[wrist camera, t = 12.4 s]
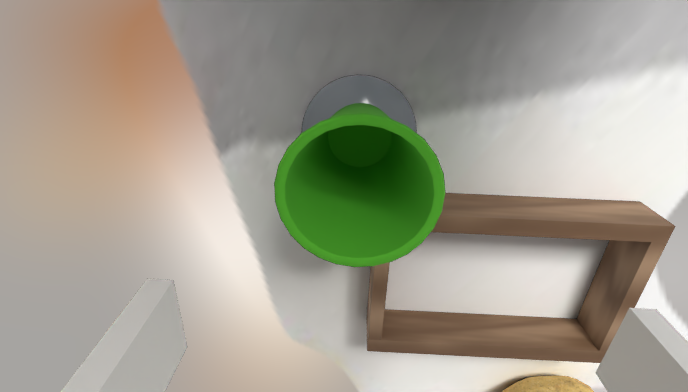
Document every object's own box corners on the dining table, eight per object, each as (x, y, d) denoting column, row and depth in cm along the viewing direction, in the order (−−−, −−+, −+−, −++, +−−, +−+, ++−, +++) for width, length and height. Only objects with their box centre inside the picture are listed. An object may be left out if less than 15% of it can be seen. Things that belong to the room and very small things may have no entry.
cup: (333, 202, 33) (321, 287, 23) (282, 106, 29) (240, 158, 19) (434, 162, 30) (467, 236, 21) (391, 53, 27) (408, 82, 17)
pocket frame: (376, 190, 33) (378, 212, 29) (640, 201, 32) (675, 226, 29) (366, 319, 39) (367, 350, 36) (583, 330, 39) (606, 363, 35)
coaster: (301, 72, 28) (300, 73, 28) (422, 77, 28) (423, 78, 28) (303, 181, 32) (302, 184, 32) (408, 186, 32) (409, 189, 32)
